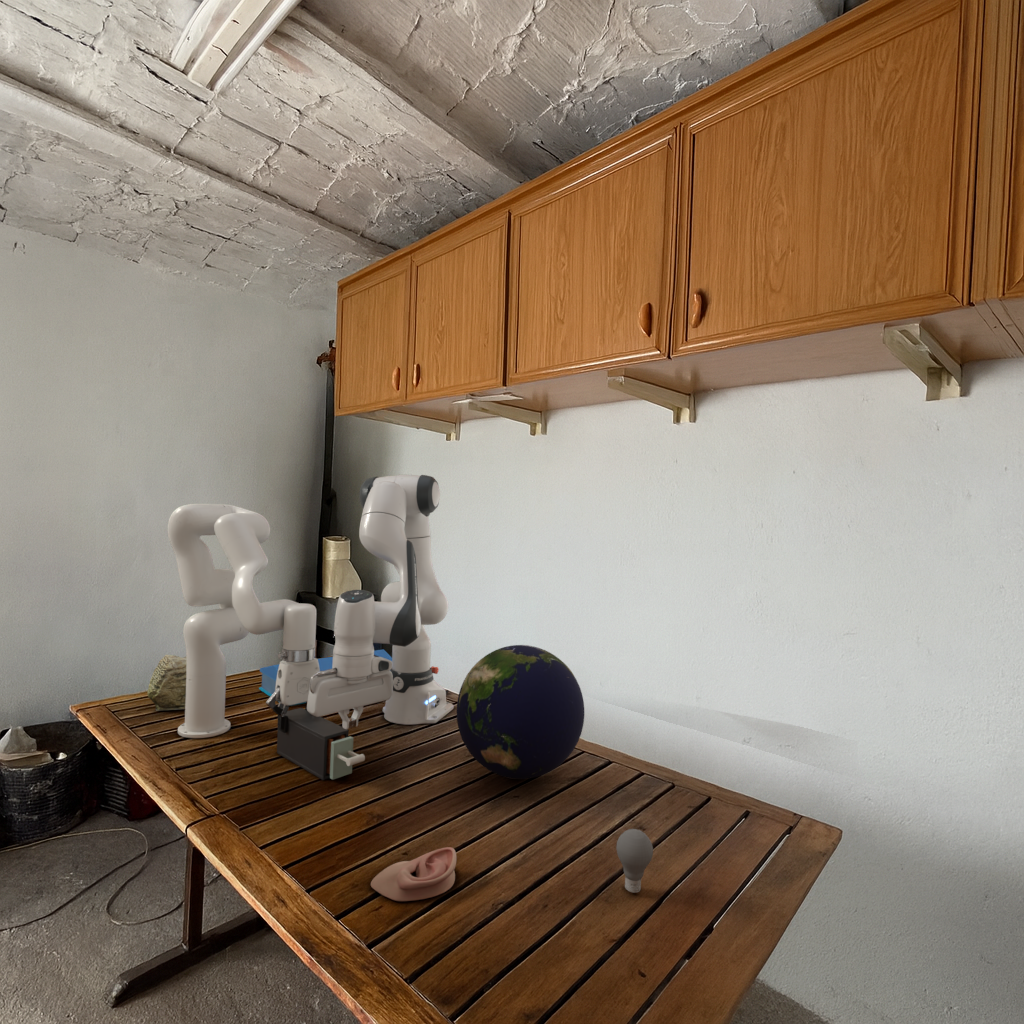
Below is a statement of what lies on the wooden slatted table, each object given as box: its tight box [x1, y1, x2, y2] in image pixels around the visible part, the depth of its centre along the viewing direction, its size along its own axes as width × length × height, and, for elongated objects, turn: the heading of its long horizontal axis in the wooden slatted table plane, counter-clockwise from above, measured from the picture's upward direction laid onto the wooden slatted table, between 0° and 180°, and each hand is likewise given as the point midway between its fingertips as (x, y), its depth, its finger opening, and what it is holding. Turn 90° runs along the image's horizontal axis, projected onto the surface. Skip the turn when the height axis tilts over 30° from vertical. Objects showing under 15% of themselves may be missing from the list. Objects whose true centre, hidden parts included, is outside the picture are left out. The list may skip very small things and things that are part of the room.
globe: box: [456, 644, 585, 780], centre depth 149 cm, size 30×30×30 cm
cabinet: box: [276, 707, 350, 781], centre depth 150 cm, size 21×6×10 cm, turn 49°
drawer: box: [326, 735, 366, 781], centre depth 146 cm, size 25×5×8 cm, turn 49°
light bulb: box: [615, 828, 654, 894], centre depth 106 cm, size 6×6×10 cm
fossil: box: [147, 654, 187, 712], centre depth 185 cm, size 9×18×15 cm, turn 132°
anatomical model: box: [370, 846, 458, 902], centre depth 106 cm, size 13×4×12 cm
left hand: (296, 727), depth 155 cm, fingers closed on cabinet, 6 cm apart
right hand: (350, 727), depth 140 cm, fingers closed
